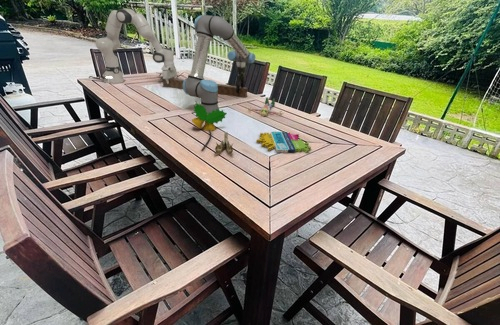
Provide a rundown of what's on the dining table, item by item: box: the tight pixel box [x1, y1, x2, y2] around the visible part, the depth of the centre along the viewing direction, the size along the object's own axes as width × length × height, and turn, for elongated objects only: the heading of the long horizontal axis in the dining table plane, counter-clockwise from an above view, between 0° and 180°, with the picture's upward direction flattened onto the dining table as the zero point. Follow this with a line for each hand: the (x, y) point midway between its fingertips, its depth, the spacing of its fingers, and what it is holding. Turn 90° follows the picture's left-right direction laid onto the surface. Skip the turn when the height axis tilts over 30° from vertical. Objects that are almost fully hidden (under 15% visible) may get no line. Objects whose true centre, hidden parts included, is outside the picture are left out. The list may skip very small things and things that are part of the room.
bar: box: [162, 77, 248, 98], centre depth 241 cm, size 81×6×8 cm, turn 75°
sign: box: [256, 131, 312, 154], centre depth 152 cm, size 26×2×30 cm
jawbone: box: [214, 131, 234, 156], centre depth 136 cm, size 9×15×10 cm
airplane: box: [157, 72, 185, 83], centre depth 276 cm, size 38×32×10 cm
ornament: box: [191, 102, 228, 132], centre depth 162 cm, size 21×8×15 cm, turn 105°
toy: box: [246, 97, 284, 117], centre depth 201 cm, size 28×7×30 cm
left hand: (170, 82), depth 247 cm, fingers open, 8 cm apart
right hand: (239, 91), depth 235 cm, fingers open, 13 cm apart
